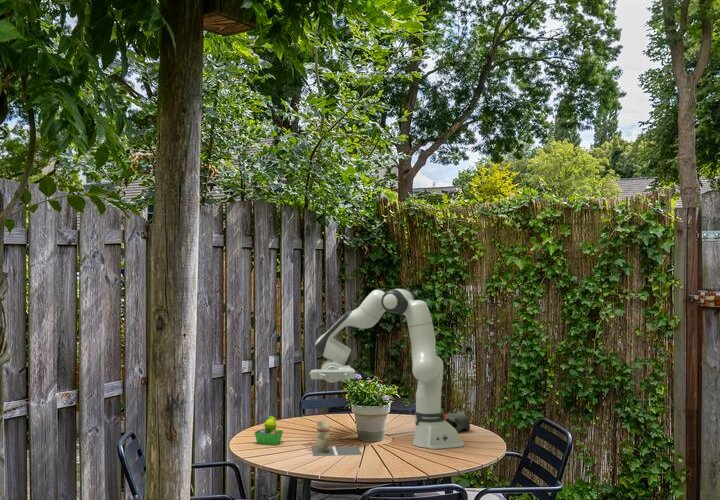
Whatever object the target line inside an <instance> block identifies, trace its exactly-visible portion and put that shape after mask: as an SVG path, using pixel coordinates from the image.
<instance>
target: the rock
mask: <svg viewBox="0 0 720 500" xmlns="http://www.w3.org/2000/svg"><path fill="white" fill-rule="evenodd" d="M446 414H447V415H448V419H445V421H446V422H448V423H449V424H450V425H451V426H453V427H454V428H455V429H456V430H457V433H459V432H460V431H461V430H464V429H465V430H466V431H467V432H469V431H470V430H471V423H470V418H469V416H468V415H466V414H465V413H463V412H461V411H453V412H447V413H446Z"/></svg>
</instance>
